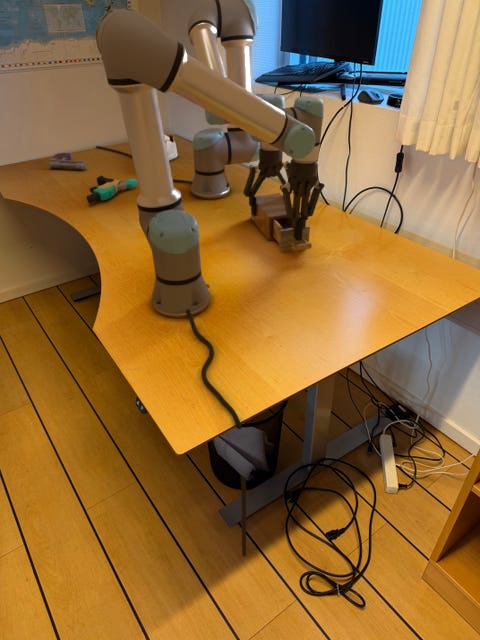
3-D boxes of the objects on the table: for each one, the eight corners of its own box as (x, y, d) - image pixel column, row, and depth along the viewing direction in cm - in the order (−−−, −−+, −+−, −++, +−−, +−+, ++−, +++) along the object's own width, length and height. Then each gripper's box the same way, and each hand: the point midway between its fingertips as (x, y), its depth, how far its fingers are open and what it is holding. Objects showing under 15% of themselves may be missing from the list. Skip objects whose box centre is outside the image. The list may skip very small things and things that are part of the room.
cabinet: (299, 235, 157) (300, 212, 152) (268, 240, 154) (269, 217, 149) (279, 214, 171) (279, 193, 166) (250, 218, 168) (250, 196, 164)
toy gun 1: (97, 161, 222) (82, 172, 210) (61, 159, 225) (44, 169, 213) (96, 153, 220) (81, 163, 208) (59, 151, 223) (42, 161, 211)
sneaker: (133, 173, 208) (129, 144, 201) (161, 153, 230) (158, 127, 223) (155, 175, 205) (151, 146, 198) (180, 155, 227) (178, 129, 220)
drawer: (317, 253, 144) (318, 235, 141) (288, 258, 142) (288, 239, 138) (288, 223, 162) (289, 206, 159) (262, 227, 160) (262, 210, 156)
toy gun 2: (64, 190, 179) (94, 197, 174) (109, 170, 198) (138, 176, 192) (66, 201, 182) (96, 209, 176) (111, 181, 200) (139, 187, 195)
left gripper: (320, 153, 134) (312, 230, 147) (277, 157, 131) (273, 235, 144) (332, 161, 128) (322, 241, 142) (287, 165, 125) (282, 246, 138)
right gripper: (299, 141, 157) (296, 204, 170) (232, 148, 152) (234, 212, 165) (309, 147, 151) (304, 212, 164) (239, 154, 146) (240, 221, 159)
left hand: (297, 238), depth 143 cm, fingers closed
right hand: (269, 212), depth 164 cm, fingers closed on cabinet, 11 cm apart
